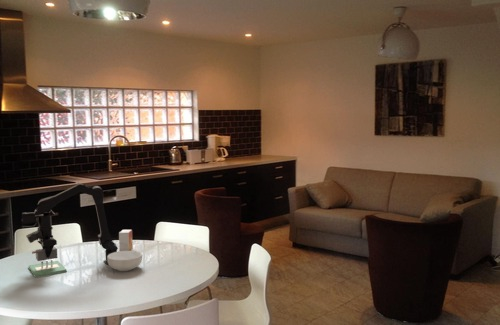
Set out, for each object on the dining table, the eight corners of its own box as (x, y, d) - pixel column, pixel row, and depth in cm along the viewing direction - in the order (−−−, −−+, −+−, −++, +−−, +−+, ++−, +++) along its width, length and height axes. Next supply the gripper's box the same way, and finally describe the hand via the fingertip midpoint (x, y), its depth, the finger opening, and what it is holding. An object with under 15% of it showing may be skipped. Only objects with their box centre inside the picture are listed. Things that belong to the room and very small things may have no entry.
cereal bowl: (133, 275, 233) (133, 260, 232) (101, 273, 236) (100, 258, 236) (148, 264, 250) (147, 250, 249) (117, 263, 253) (117, 249, 252)
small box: (129, 251, 275) (128, 232, 274) (119, 251, 275) (118, 232, 274) (132, 247, 283) (132, 229, 282) (123, 247, 283) (122, 229, 282)
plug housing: (57, 257, 243) (57, 248, 242) (33, 261, 237) (32, 252, 236) (55, 255, 247) (54, 247, 246) (31, 259, 240) (31, 250, 240)
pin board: (66, 271, 239) (66, 263, 239) (35, 277, 231) (35, 268, 231) (57, 262, 254) (57, 254, 254) (28, 267, 246) (28, 259, 246)
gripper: (23, 224, 244) (25, 254, 245) (31, 231, 228) (32, 263, 230) (47, 221, 250) (49, 251, 252) (56, 227, 235) (57, 259, 236)
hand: (46, 256), depth 242 cm, fingers closed on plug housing, 4 cm apart
